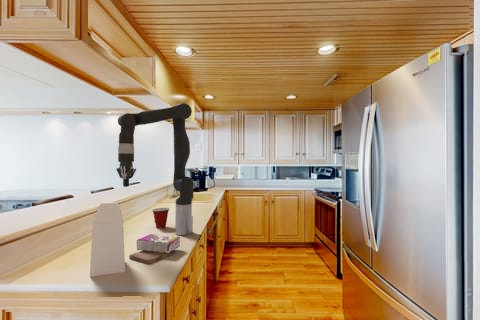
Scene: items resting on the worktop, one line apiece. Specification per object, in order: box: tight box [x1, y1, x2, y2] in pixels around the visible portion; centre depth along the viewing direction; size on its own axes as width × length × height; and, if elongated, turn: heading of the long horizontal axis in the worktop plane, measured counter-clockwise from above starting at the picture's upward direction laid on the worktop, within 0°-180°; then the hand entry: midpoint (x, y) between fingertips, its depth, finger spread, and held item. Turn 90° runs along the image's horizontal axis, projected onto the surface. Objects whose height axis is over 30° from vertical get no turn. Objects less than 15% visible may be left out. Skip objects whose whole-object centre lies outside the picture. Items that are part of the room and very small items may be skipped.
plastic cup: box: [151, 207, 170, 229], centre depth 174 cm, size 11×11×12 cm
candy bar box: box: [136, 233, 181, 253], centre depth 128 cm, size 11×5×16 cm
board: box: [128, 250, 174, 265], centre depth 122 cm, size 14×12×2 cm
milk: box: [89, 201, 126, 278], centre depth 108 cm, size 12×12×26 cm
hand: (125, 186), depth 140 cm, fingers closed
